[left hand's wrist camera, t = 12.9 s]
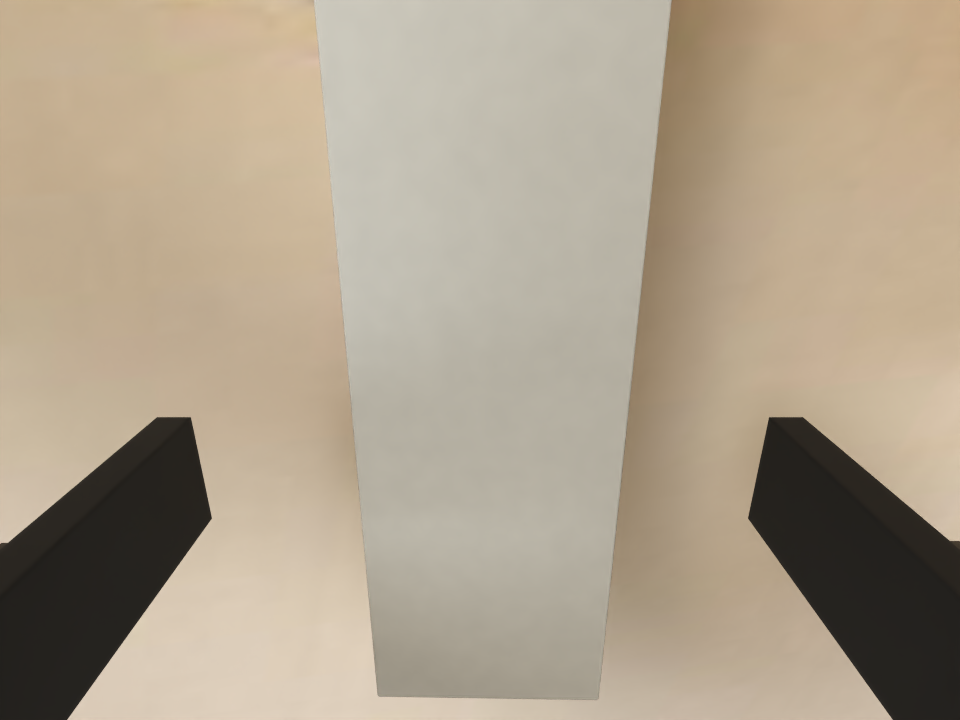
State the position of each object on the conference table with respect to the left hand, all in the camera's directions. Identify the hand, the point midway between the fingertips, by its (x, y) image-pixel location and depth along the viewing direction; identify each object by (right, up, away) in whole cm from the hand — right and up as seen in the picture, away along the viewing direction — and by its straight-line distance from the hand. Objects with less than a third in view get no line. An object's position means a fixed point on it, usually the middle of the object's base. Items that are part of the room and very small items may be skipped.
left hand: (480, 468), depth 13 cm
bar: (0, +29, -5) cm, 29 cm away
